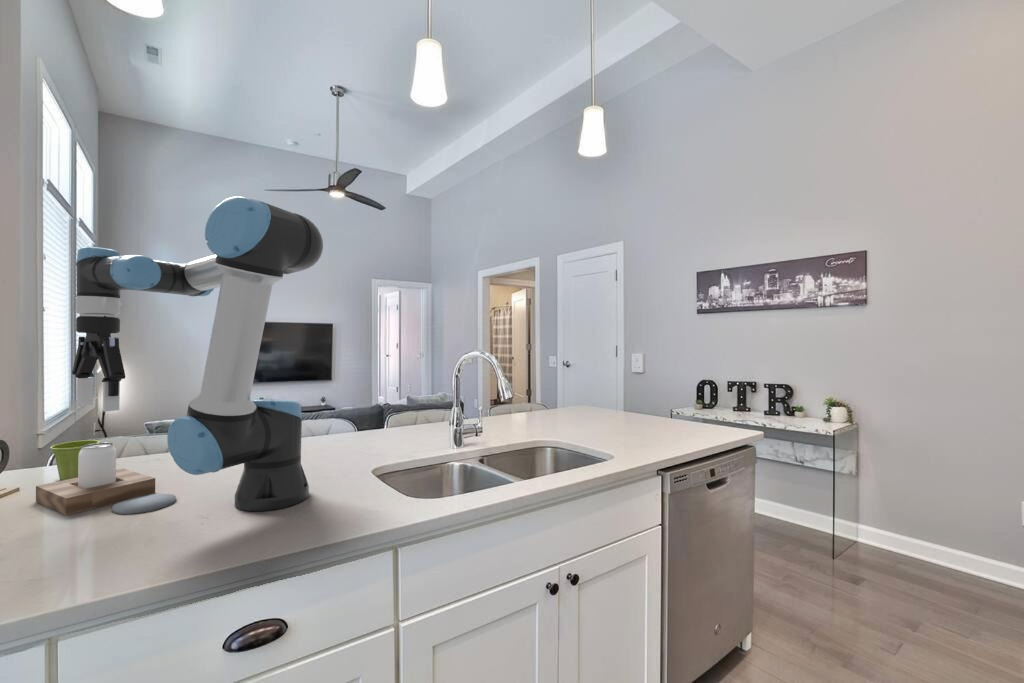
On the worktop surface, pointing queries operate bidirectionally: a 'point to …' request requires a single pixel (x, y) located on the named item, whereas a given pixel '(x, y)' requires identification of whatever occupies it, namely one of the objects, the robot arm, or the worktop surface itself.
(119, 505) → the slate mat
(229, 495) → the worktop surface
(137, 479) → the pocket block
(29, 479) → the worktop surface
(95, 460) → the can
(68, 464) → the plant pot
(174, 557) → the worktop surface
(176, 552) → the worktop surface
